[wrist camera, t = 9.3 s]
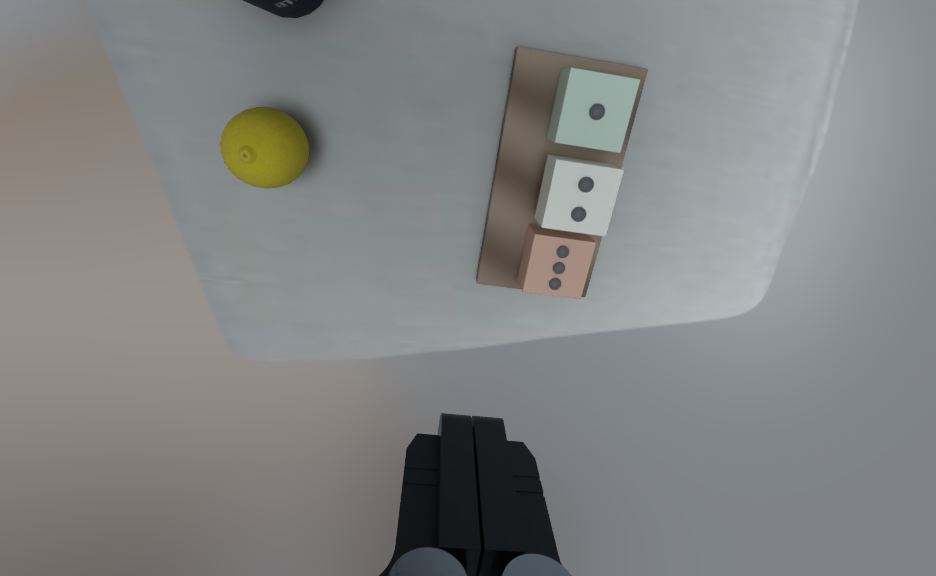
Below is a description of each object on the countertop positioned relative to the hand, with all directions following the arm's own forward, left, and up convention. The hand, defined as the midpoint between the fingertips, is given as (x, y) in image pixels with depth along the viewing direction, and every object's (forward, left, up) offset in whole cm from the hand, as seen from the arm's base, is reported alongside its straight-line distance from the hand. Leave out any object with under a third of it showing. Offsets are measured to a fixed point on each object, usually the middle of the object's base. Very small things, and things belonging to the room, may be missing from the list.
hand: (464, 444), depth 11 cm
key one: (-8, +9, -29) cm, 32 cm away
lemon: (-2, -14, -30) cm, 33 cm away
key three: (+4, +9, -29) cm, 31 cm away
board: (-2, +8, -30) cm, 31 cm away
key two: (-2, +9, -27) cm, 29 cm away
